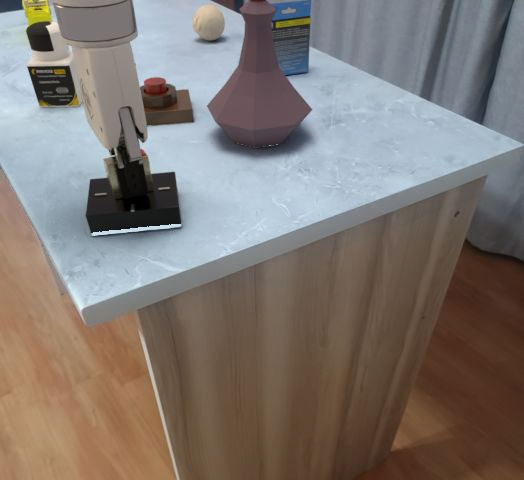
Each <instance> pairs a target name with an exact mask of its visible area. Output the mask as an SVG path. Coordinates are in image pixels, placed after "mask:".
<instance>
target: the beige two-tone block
mask: <svg viewBox="0 0 524 480" xmlns="http://www.w3.org/2000/svg"><path fill="white" fill-rule="evenodd" d="M140 150H141V154H142V161H143V165H144V170H145V176H146V181H147V187H148V192H149V191H153V190H154V187H153V182H152V176H151V174H152V170H151V165H150V159H149V155H148V154H147V152H146V151H145V150H144V149H143V148H140ZM113 156H114V157H113ZM113 156H109V157H105V158H103V159H102V160H103V165H104V169H105V173H106V178H108V182H109V186H110V190H111V194H112V195H113V197H114V199H115V200H116V199H120V198H123V196H122V194H121V190H120V185H119V181H118V176H117V172H116V166H118V164H117V160H116V156H115V155H113Z"/></svg>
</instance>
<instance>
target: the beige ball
mask: <svg viewBox="0 0 524 480" xmlns="http://www.w3.org/2000/svg"><path fill="white" fill-rule="evenodd" d="M191 24H192V29H193V31H194V32H195V33H196V34H197V35H198V36H199V37H200V38H201V39H203V40H204V41H205V40H206V41H215V40H218V39H219V38H220V37H221V36H222V35H223V33H224V31H225V27H226V22H225V16H224V14H223V12H222V10H221V9H220V8H219V7H218V6H215V5H213V4H204V5H201V6H200V7H199V8H198V9H197V10H196V12H195V13H194V14H193V17H192V22H191Z"/></svg>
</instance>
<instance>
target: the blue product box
mask: <svg viewBox="0 0 524 480" xmlns="http://www.w3.org/2000/svg"><path fill="white" fill-rule="evenodd" d="M270 4H271V5H272V6H273V7H274V8H275V9H276V13H275V15H274V17H273V20H272V22H271V28H272V38H273V43H274V47H275V51H276V55H277V60H278V64H279V67H280V69H281V70H282V71H283V73H284V74H285V76H289V75H295V74H296V75H297V74H305V73H306V74H307V73H309V66H310V65H309V64H310V41H311V11H312V0H294V1H285V2H283V1H282V2H275V3H270ZM289 8H290V9H291V10H295V12H287V13H286V12H285V13H283V11H286V10H288V9H289Z"/></svg>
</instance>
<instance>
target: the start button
mask: <svg viewBox="0 0 524 480" xmlns="http://www.w3.org/2000/svg"><path fill="white" fill-rule="evenodd" d="M166 84H167V79H165V78H164V77H158V76H157V77H148V78H146V79H145V80H143V85H144V87H145V93H146V94H151V95H157V94H163V93H166V92H167V86H166Z"/></svg>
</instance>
